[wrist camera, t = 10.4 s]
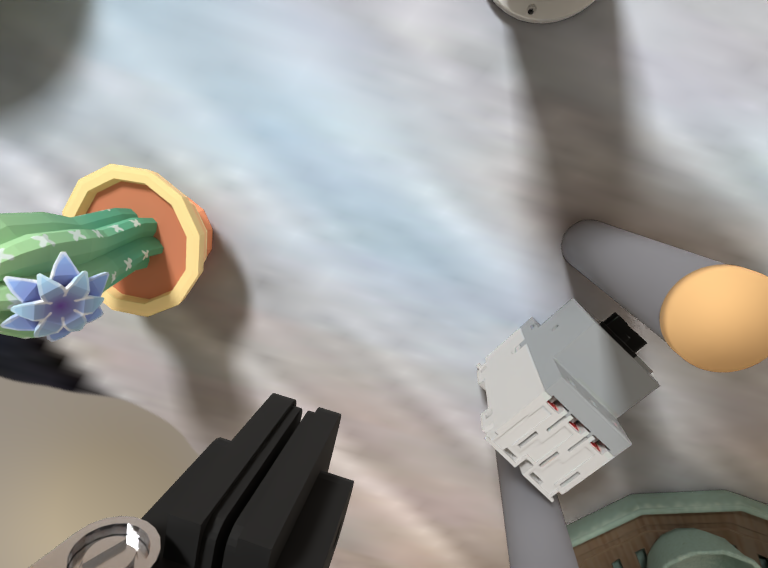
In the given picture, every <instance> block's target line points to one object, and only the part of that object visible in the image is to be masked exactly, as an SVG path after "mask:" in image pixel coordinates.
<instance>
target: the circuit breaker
mask: <svg viewBox="0 0 768 568" xmlns="http://www.w3.org/2000/svg"><path fill="white" fill-rule="evenodd" d="M645 344H647V342H646V341H645V340H644V339H642V338H641V337H640V336H639V335H638V334H637V333H636V332H634V331H633V330H632V329H631V328H630V327H629V326H628V324H627V323H626V322H625V321H624V320H623V319H622V318H621V317H620V316H619V315H618V314H617V313H614V314H612V315H611V316H610V317H609V318H607V319H606V320H605V321H604V322H601V323H600V324H599V323H598V322H597V321H596V320H595V319H594V318H593V317H592V316H591V315H590V314H589V313H588V312H587V311H586V310H585V309H584V308H583V307H582V306H581V305H580V304H579V303H578V302H577V301H576V300H575V299H574V298H572V299H571V300H570V301H569V302H567V303H566V304H565V305H564V306H563V307H562V308H560V309H559V310H558V311H557V312H556V313H555V314H554V315H552V316H551V317H550V318H549V319H548V320H547V321H545V322H544V323H543V324H542V325H540V324H539V323H538V322H537V321H536V320H535V319H534V318H533V317H531V318H530V319H529V320H528V321H527V322H526V323H524V324H523V325H522V326H521V328H519V329H518V330H516V331H515V332H514V333H513V334H512V335H511V336H510V337H509V338H507V339H506V340H505V341H504V342H503V343H502V344H501V345H499V346H498V347H497V348H496V349H495V350H494V351H493V352H491V353H490V354H489V355H488V356H487V357H486V358H485V360H486V362H485V363H484V364H483V365H481V364H480V363H479V364H478V365H477V368H478V369H479V370H478V371H477V378H478V384H479V385H480V386H481V387H482V388H483V389H484V390H485V391H486V395H487V404H488V409H487V410H485V411H484V412H483V413H482V414H481V427H482V431H483V432H485V433H486V436H485V437H484V438H485V440H486V441H487V442H488V443H489V444H490V445H491V446H492V447H494V448H495V449H496V450H497V451H498V452H499V453H500V454H501V455H502V456H503V457H504V458H505V459H506V460H507V461H508V462H510V463H511V464H512V465H513V466H514V467H516V466H518V465H519V468H520V470H521V472H522V475H523V476H524V477H525V478H527V479H528V480H529V481H530V482H531V483H532V484H533V485H534V486H535V487H536V488H537V489H538V490H539V491H540V492H541V493H543V494H544V495H545V496H546V497H547V498H548V499H549V500H550V501H551V502H553V501H554V498H553V497H552V496H553V495H555V494H556V493H558V492H560V493H561V494H562V495H563V494H564V493H566V492H567V491H568V490H570V489H571V488H572V487H574V486H575V485H577V484H578V483H579V482H581V481H582V480H584V479H585V478H586V477H588V476H589V475H591V474H592V473H593V472H595V471H596V470H598V469H599V468H600V467H602V466H603V465H605V464H606V463H607V462H609V461H610V460H612V459H613V458H614V457H616V456H617V455H619V454H620V453H621V452H623V451H624V450H625V449H627V448H628V447H630V446H631V445H632V443H631V441H630V439H629V438H628V436H627V435H626V433H625V432H624V430H623V428H622V427H621V425H620V424H619V422H618V421H617V418H618V417H619V416H621V415H622V414H623V413H625V412H626V411H627V410H629V409H630V408H631V407H633V406H634V405H635V404H637V403H638V402H639V401H641V400H642V399H643V398H645V397H646V396H647V395H648V394H650V393H651V392H652V391H654V390H655V389H656V388H658V387H659V386H660V385H659V384H658V382H657V381H656V380H655V379H654V378H653V377H652V376H651V375H650V374H651V373H652V372H653V371H652V370H651V369H650V368H649V367H648V366H647V365H646V364H645V363H644V362H643V361H642V360H641V359H640V358H639V357H638V356H637V355H636V354H635V352H637V351H638V350H639V349H640V348H642V347H643V346H644V345H645ZM504 450H506V451H504ZM530 474H531V475H530Z"/></svg>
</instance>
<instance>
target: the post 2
mask: <svg viewBox="0 0 768 568" xmlns="http://www.w3.org/2000/svg"><path fill="white" fill-rule="evenodd" d="M561 249H562V254H563V256H564V258H565V259H566V261H567V262H568V263H570V264H571V265H572V266H573V267H574V268H576V269H577V270H578V271H579V272H581V273H582V274H583V275H584V276H585V277H587V278H588V279H589V280H590V281H592V282H593V283H594V284H595V285H597V286H598V287H599V288H600V289H601V290H603V291H604V292H605V293H606V294H608V295H609V296H610V297H611V298H613V299H614V300H615V301H616V302H617V303H619V304H620V305H621V306H622V307H624V308H625V309H626V310H627V311H629V312H630V313H631V314H632V315H634V316H635V317H636V318H637V319H638V320H640V321H641V322H642V323H643V324H645V325H646V326H647V327H648V328H650V329H651V330H652V331H653V332H654V333H656V334H657V335H658V336H659V337H661V338H662V339H663V340H664V341H666V342H667V344H668V345H669V346H670V347H671V349H672V350H674V351H675V352H676V353H677V354H678V355H679V356H681V357H682V358H683V359H684V360H686V361H687V362H689V363H690V364H692V365H694V366H696V367H698V368H701V369H703V370H707V371H712V372H733V371H739V370H743V369H746V368H749V367H751V366H753V365H756V364H758V363H759V362H761V361H763V360H764V359H766V358H767V357H768V277H767V276H765V275H763V274H761V273H759V272H755V271H752V270H749V269H746V268H743V267H740V266H735V265H728V264H725V263H722V262H719V261H716V260H713V259H710V258H707V257H704V256H701V255H698V254H695V253H692V252H689V251H686V250H683V249H680V248H677V247H674V246H671V245H668V244H665V243H662V242H659V241H656V240H653V239H650V238H647V237H644V236H641V235H638V234H635V233H632V232H629V231H626V230H623V229H620V228H617V227H614V226H611V225H608V224H605V223H602V222H599V221H595V220H584V221H580V222H578V223H575V224H574V225H572V226H571V227H570V228H569V229H568V230H567V231H566V233H565V234H564V236H563V239H562V243H561Z"/></svg>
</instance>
